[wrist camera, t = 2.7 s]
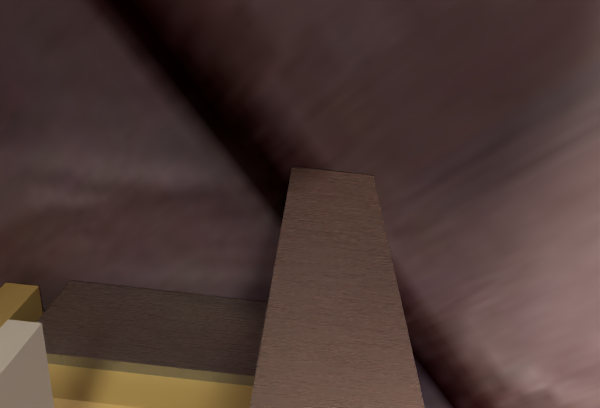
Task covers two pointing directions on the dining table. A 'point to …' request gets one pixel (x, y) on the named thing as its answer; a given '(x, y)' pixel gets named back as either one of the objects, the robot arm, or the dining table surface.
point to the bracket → (117, 374)
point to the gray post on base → (154, 332)
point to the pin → (334, 304)
